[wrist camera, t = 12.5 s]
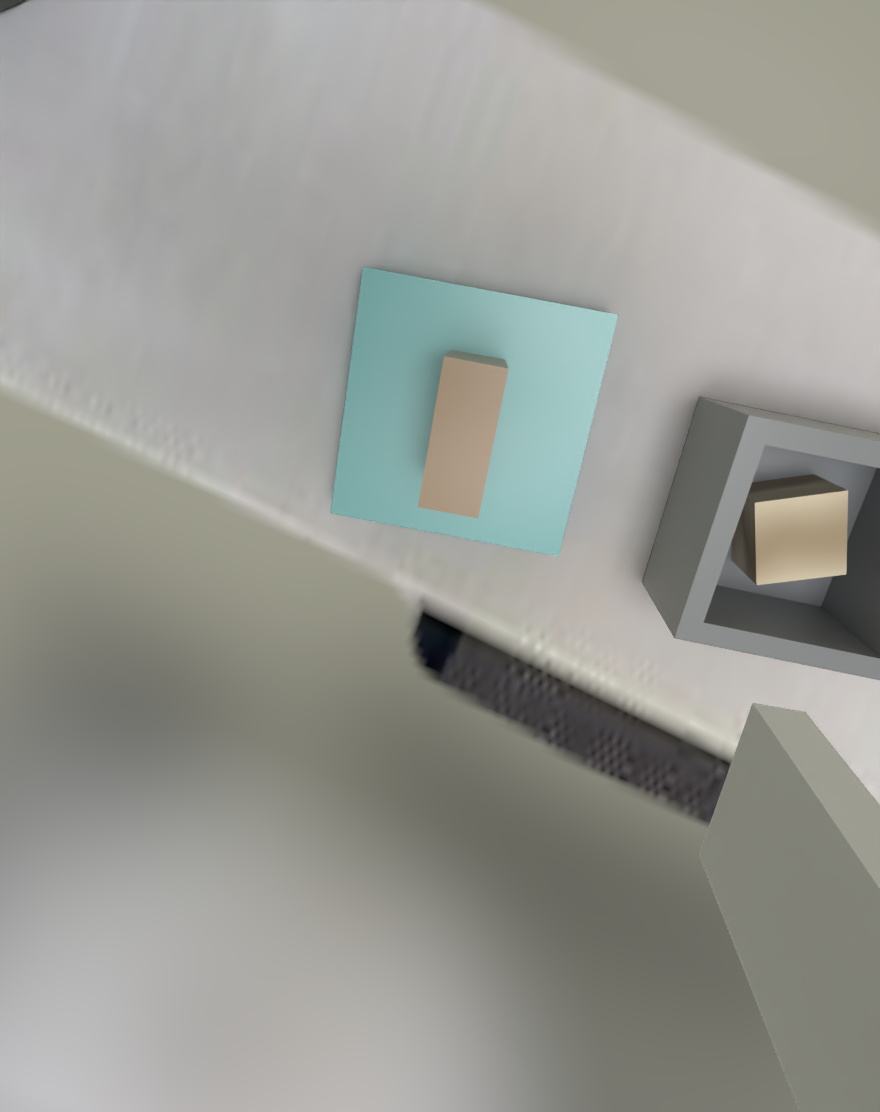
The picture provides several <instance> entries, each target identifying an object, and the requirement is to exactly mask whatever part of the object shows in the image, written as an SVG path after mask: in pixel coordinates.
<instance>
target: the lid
mask: <svg viewBox="0 0 880 1112" xmlns="http://www.w3.org/2000/svg"><path fill="white" fill-rule="evenodd" d="M617 318H618V315H617V314H612V313H607V312H601V311H596V310H591V309H585V308H580V307H575V306H570V305H564V304H559V303H554V302H548V301H543V300H538V299H532V298H527V297H522V296H516V295H511V294H506V293H500V292H495V291H490V290H484V289H479V288H474V287H468V286H463V285H458V284H452V283H447V282H442V281H436V280H431V279H426V278H420V277H415V276H410V275H405V274H399V273H394V272H389V271H383V270H378V269H373V268H367V267H363V269H362V277H361V285H360V292H359V300H358V307H357V315H356V323H355V330H354V338H353V345H352V353H351V361H350V368H349V376H348V384H347V391H346V399H345V406H344V414H343V422H342V429H341V437H340V444H339V452H338V460H337V467H336V475H335V483H334V490H333V498H332V505H331V513H332V514H337V515H342V516H348V517H353V518H358V519H363V520H369V521H374V522H379V523H385V524H390V525H395V526H400V527H406V528H411V529H416V530H421V531H427V532H432V533H437V534H443V535H448V536H453V537H458V538H464V539H469V540H474V541H479V542H485V543H490V544H495V545H501V546H506V547H511V548H516V549H522V550H527V551H532V552H538V553H543V554H548V555H553V556H559V553H560V549H561V545H562V541H563V537H564V533H565V529H566V525H567V521H568V517H569V513H570V509H571V505H572V501H573V496H574V492H575V488H576V484H577V480H578V476H579V472H580V468H581V464H582V460H583V456H584V452H585V448H586V444H587V440H588V436H589V432H590V428H591V423H592V419H593V415H594V411H595V407H596V403H597V399H598V395H599V391H600V387H601V383H602V379H603V375H604V371H605V367H606V363H607V359H608V355H609V350H610V346H611V342H612V338H613V334H614V330H615V326H616V322H617Z"/></svg>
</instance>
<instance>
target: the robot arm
mask: <svg viewBox="0 0 880 1112" xmlns="http://www.w3.org/2000/svg"><path fill="white" fill-rule="evenodd" d="M21 1H23V0H0V11H2V10H5V9H7V8H9V7H12V6H14V5H16V4H18V3H20V2H21ZM699 856H700V859H701V862H702V864H703V867H704V869H705V872H706V874H707V877H708V880H709V882H710V885H711V887H712V890H713V892H714V895H715V897H716V900H717V903H718V905H719V908H720V910H721V913H722V915H723V918H724V920H725V923H726V926H727V928H728V931H729V933H730V936H731V938H732V941H733V944H734V946H735V949H736V951H737V954H738V956H739V959H740V961H741V964H742V967H743V969H744V972H745V974H746V977H747V979H748V982H749V984H750V987H751V990H752V992H753V994H754V997H755V1000H756V1002H757V1005H758V1007H759V1010H760V1013H761V1015H762V1018H763V1020H764V1023H765V1025H766V1028H767V1031H768V1033H769V1035H770V1038H771V1041H772V1043H773V1046H774V1048H775V1051H776V1054H777V1056H778V1059H779V1061H780V1064H781V1066H782V1069H783V1071H784V1074H785V1076H786V1079H787V1082H788V1084H789V1087H790V1089H791V1092H792V1094H793V1097H794V1100H795V1102H796V1105H797V1107H798V1110H799V1112H880V805H879V803H878V802H877V801H876V800H875V798H874V797H873V796H872V795H871V793H870V792H869V791H868V790H867V788H866V787H865V786H864V785H863V783H862V782H861V781H860V780H859V778H858V777H857V776H856V775H855V773H854V772H853V771H852V770H851V768H850V767H849V766H848V765H847V763H846V762H845V761H844V760H843V758H842V757H841V756H840V755H839V753H838V752H837V751H836V750H835V748H834V747H833V746H832V745H831V743H830V742H829V741H828V740H827V738H826V737H825V736H824V735H823V733H822V732H821V731H820V730H819V728H818V727H817V726H816V725H815V723H814V722H813V721H812V720H811V718H810V717H809V716H808V715H807V713H806V712H802V711H796V710H790V709H785V708H779V707H773V706H767V705H762V704H756V703H753V704H752V706H751V709H750V712H749V715H748V718H747V720H746V723H745V726H744V729H743V732H742V735H741V737H740V740H739V743H738V746H737V749H736V752H735V754H734V757H733V760H732V763H731V766H730V769H729V771H728V774H727V777H726V780H725V783H724V786H723V788H722V791H721V794H720V797H719V800H718V803H717V805H716V808H715V811H714V814H713V817H712V820H711V822H710V825H709V828H708V831H707V834H706V836H705V839H704V842H703V845H702V848H701V851H700V854H699Z"/></svg>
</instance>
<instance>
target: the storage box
mask: <svg viewBox="0 0 880 1112" xmlns="http://www.w3.org/2000/svg"><path fill="white" fill-rule="evenodd" d="M810 474H815V475H817V476H819V477H821V478H823V479H825V480H827V481H829V482H831V483H834V484H836V485H838V486H840V487H842V488H844V489H846V490H848V520H847V571H846V575H838V576H830V577H821V578H813V579H805V580H796V581H788V582H780V583H771V584H763V585H756V584H755V583H754V582H753V581H752V580H751V579H750V578H749V577H748V576H747V575H746V574H745V573H744V572H743V571H742V570H741V569H740V568H739V567H738V566H737V565H736V564H735V563H734V562H733V561H732V543H731V542H732V539H733V536H734V533H735V530H736V527H737V524H738V522H739V519H740V516H741V513H742V510H743V507H744V504H745V501H746V498H747V496H748V493H749V490H750V487H751V484H752V482H759V481H766V480H773V479H781V478H788V477H795V476H803V475H810ZM642 583H643V585H644V587H645V588H646V590H647V592H648V594H649V595H650V597H651V599H652V600H653V602H654V604H655V606H656V607H657V609H658V611H659V612H660V614H661V616H662V618H663V619H664V621H665V623H666V624H667V626H668V628H669V630H670V631H671V633H672V635H673V636H674V638H676V639H681V640H686V641H690V642H695V643H700V644H705V645H710V646H715V647H720V648H725V649H730V650H734V651H739V652H744V653H749V654H754V655H759V656H764V657H769V658H774V659H778V660H783V661H788V662H793V663H798V664H803V665H808V666H813V667H818V668H822V669H827V670H832V671H837V672H842V673H847V674H852V675H857V676H862V677H866V678H871V679H876V680H880V434H879V433H874V432H869V431H864V430H859V429H854V428H849V427H844V426H840V425H835V424H830V423H825V422H820V421H815V420H810V419H805V418H800V417H796V416H791V415H786V414H781V413H776V412H771V411H766V410H761V409H756V408H752V407H747V406H742V405H737V404H732V403H727V402H722V401H717V400H712V399H708V398H703V397H699V400H698V403H697V406H696V410H695V413H694V416H693V419H692V423H691V426H690V429H689V432H688V436H687V439H686V442H685V445H684V449H683V452H682V455H681V458H680V462H679V465H678V468H677V471H676V475H675V478H674V481H673V484H672V487H671V491H670V494H669V497H668V500H667V504H666V507H665V510H664V513H663V517H662V520H661V523H660V526H659V530H658V533H657V536H656V539H655V543H654V546H653V549H652V552H651V556H650V559H649V562H648V565H647V569H646V572H645V575H644V578H643V581H642Z"/></svg>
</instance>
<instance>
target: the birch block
mask: <svg viewBox="0 0 880 1112" xmlns="http://www.w3.org/2000/svg"><path fill="white" fill-rule="evenodd" d="M847 520H848V490H846V489H844V488H842V487H840V486H838V485H836V484H834V483H831V482H829V481H827V480H825V479H823V478H821V477H819V476H817V475H815V474H810V475H803V476H795V477H788V478H781V479H773V480H766V481H759V482H752V484H751V487H750V490H749V493H748V496H747V498H746V501H745V504H744V507H743V510H742V513H741V516H740V519H739V522H738V524H737V527H736V530H735V533H734V536H733V539H732V542H731V543H732V561H733V562H734V563H735V564H736V565H737V566H738V567H739V568H740V569H741V570H742V571H743V572H744V573H745V574H746V575H747V576H748V577H749V578H750V579H751V580H752V581H753V582H754V583H755V584H756V585H763V584H771V583H780V582H788V581H796V580H805V579H813V578H821V577H830V576H838V575H846V571H847Z"/></svg>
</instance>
